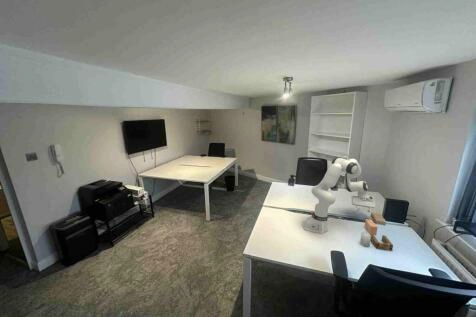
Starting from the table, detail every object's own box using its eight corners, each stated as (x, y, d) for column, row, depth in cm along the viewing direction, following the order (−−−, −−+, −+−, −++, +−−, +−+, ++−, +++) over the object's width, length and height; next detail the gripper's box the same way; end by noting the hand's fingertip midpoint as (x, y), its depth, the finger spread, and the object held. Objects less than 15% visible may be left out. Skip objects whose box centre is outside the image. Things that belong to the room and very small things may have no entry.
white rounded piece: (361, 246, 150) (363, 236, 148) (358, 241, 157) (360, 231, 154) (370, 247, 149) (372, 237, 147) (367, 242, 155) (369, 232, 153)
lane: (375, 248, 147) (376, 243, 146) (369, 239, 159) (370, 233, 158) (392, 250, 145) (393, 245, 144) (384, 240, 156) (385, 235, 155)
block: (369, 234, 165) (371, 226, 163) (364, 226, 176) (365, 219, 174) (376, 235, 164) (377, 227, 162) (370, 227, 175) (371, 219, 173)
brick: (385, 225, 178) (386, 221, 176) (375, 224, 180) (376, 219, 179) (379, 217, 193) (380, 213, 192) (370, 215, 195) (370, 211, 194)
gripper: (352, 194, 187) (353, 208, 182) (375, 198, 182) (377, 212, 177) (350, 196, 193) (350, 209, 187) (372, 199, 188) (373, 213, 182)
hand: (363, 210), depth 182 cm, fingers open, 8 cm apart
